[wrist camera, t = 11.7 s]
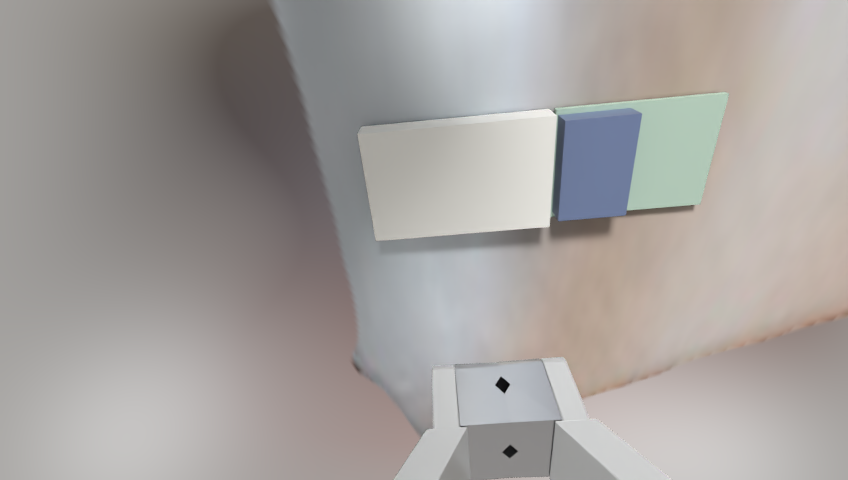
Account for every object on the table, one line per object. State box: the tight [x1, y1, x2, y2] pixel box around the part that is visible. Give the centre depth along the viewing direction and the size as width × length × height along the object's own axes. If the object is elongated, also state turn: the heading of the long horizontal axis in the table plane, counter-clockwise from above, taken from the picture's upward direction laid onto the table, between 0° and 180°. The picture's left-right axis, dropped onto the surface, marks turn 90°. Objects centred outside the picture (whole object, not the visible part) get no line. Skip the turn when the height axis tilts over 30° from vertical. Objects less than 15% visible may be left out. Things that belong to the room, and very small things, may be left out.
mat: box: [550, 92, 729, 217], centre depth 37 cm, size 10×14×1 cm
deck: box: [357, 109, 557, 241], centre depth 37 cm, size 10×16×2 cm, turn 95°
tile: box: [552, 108, 642, 221], centre depth 36 cm, size 9×6×2 cm, turn 6°
